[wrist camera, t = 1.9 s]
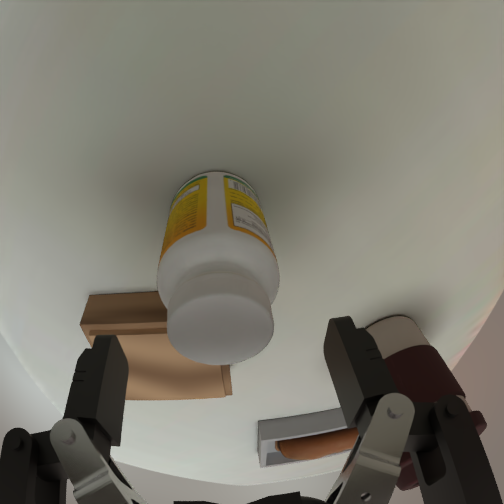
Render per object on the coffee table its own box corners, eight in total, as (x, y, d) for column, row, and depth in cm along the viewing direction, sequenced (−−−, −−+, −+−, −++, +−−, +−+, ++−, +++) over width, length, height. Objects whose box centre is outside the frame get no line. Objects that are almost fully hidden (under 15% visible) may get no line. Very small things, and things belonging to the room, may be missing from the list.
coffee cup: (336, 320, 27) (397, 485, 14) (434, 291, 27) (514, 424, 14) (334, 378, 32) (373, 505, 20) (415, 353, 32) (467, 464, 20)
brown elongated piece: (274, 453, 42) (281, 481, 35) (271, 417, 41) (278, 445, 35) (385, 428, 43) (403, 450, 36) (388, 392, 42) (409, 413, 36)
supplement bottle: (262, 169, 18) (306, 276, 10) (256, 247, 21) (285, 370, 14) (167, 170, 18) (137, 280, 10) (173, 248, 21) (160, 375, 13)
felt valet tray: (258, 420, 36) (261, 440, 34) (417, 387, 38) (425, 403, 36) (257, 452, 44) (260, 467, 41) (390, 425, 46) (395, 438, 43)
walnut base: (89, 295, 22) (78, 329, 19) (221, 286, 23) (224, 323, 20) (125, 372, 28) (121, 403, 25) (229, 367, 29) (232, 399, 26)
